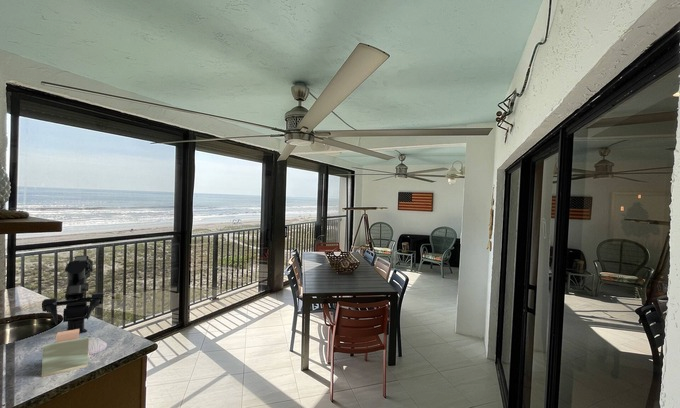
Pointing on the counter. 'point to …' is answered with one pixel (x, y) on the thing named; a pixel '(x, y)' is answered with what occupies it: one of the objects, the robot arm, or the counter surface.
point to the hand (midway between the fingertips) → (72, 321)
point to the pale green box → (65, 356)
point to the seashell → (96, 345)
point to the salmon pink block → (67, 335)
